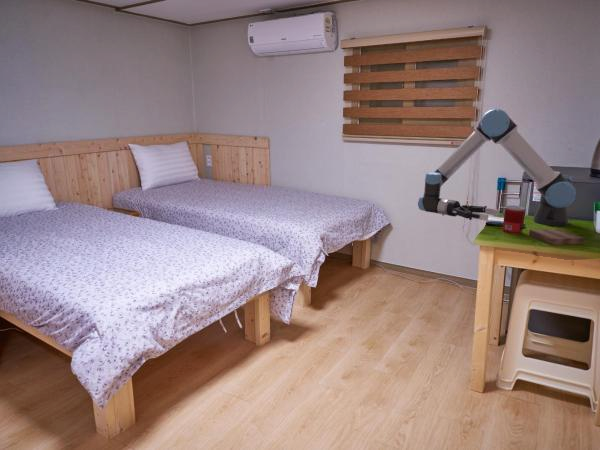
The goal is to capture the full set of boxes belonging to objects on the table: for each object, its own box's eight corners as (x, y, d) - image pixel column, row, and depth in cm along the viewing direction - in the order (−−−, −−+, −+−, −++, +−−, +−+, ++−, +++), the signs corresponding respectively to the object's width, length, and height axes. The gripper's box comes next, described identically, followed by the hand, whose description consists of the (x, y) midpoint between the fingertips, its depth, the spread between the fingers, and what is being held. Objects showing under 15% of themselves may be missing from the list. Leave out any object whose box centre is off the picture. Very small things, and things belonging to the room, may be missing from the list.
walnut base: (557, 234, 199) (558, 228, 198) (582, 243, 186) (583, 237, 185) (528, 235, 196) (529, 230, 195) (552, 245, 183) (553, 239, 182)
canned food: (524, 234, 198) (527, 209, 195) (504, 233, 199) (507, 208, 196) (519, 230, 205) (523, 206, 202) (500, 228, 207) (503, 205, 204)
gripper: (460, 211, 230) (503, 218, 216) (436, 219, 213) (481, 228, 199) (461, 196, 228) (505, 203, 214) (437, 203, 211) (483, 211, 197)
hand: (493, 215), depth 206 cm, fingers open, 13 cm apart
